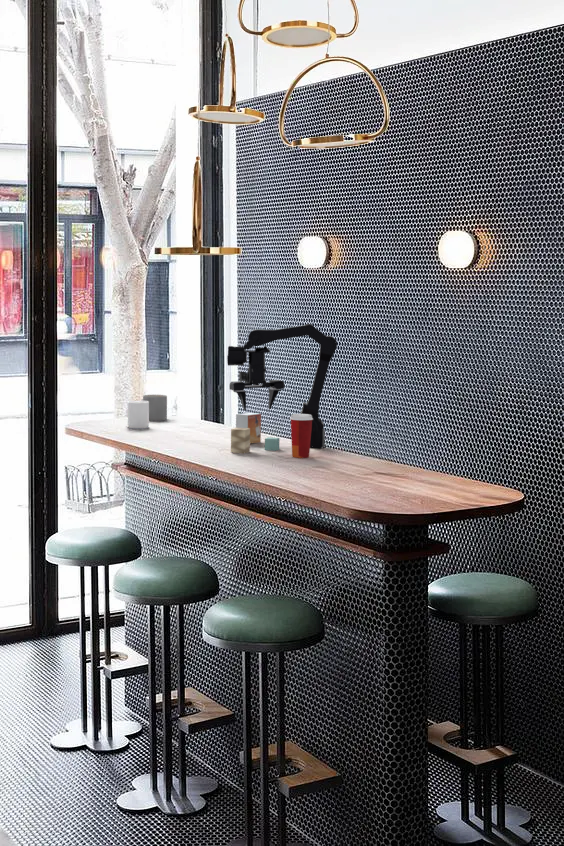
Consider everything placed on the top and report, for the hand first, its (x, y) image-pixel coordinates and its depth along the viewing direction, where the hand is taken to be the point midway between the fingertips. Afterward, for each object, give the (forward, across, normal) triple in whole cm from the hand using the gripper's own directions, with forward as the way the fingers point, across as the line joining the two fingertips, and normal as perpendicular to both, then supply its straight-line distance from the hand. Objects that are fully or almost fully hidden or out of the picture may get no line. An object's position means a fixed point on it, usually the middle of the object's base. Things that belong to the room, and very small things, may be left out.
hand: (257, 409), depth 378 cm
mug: (+12, +31, -59) cm, 68 cm away
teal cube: (+13, -2, +9) cm, 16 cm away
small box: (+13, +1, -8) cm, 15 cm away
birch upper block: (+9, +10, +12) cm, 18 cm away
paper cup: (+13, -6, +27) cm, 31 cm away
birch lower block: (+13, +10, +12) cm, 21 cm away
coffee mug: (+12, +19, -84) cm, 86 cm away
